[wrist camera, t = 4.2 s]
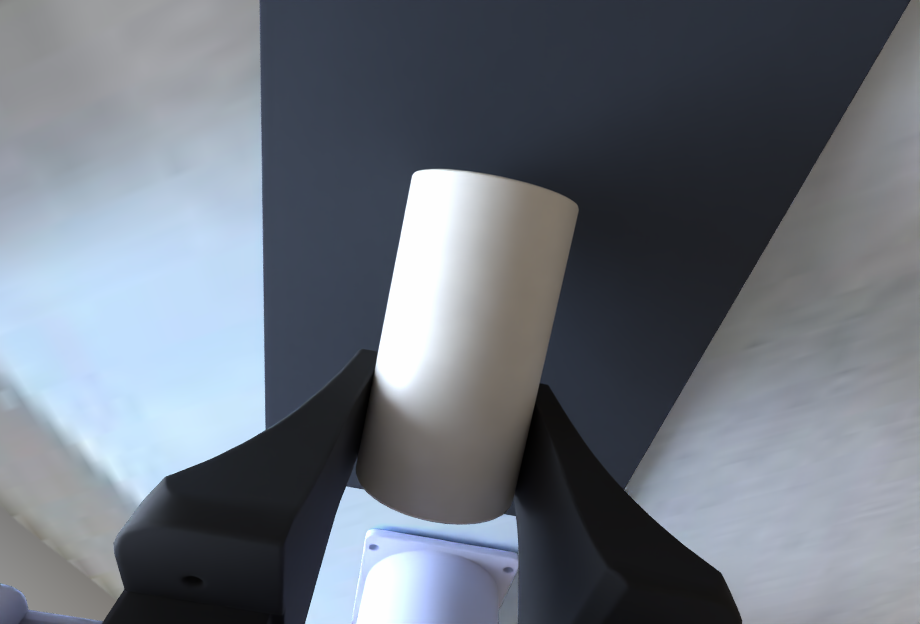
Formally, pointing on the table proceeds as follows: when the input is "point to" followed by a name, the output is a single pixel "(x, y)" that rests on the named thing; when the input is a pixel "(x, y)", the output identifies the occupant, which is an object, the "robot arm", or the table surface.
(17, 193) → the table surface
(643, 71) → the desk mat
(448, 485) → the paper roll
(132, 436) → the table surface
